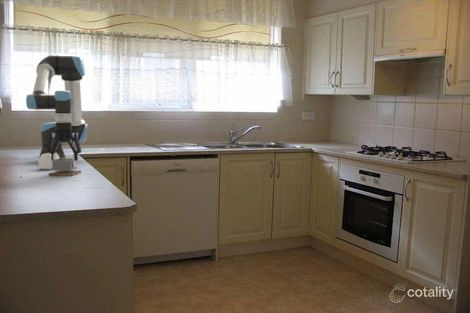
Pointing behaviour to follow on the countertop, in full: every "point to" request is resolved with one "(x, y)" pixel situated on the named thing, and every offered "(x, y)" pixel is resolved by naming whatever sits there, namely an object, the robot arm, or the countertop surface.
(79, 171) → the keeper
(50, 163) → the jar
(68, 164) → the grey hollow block
